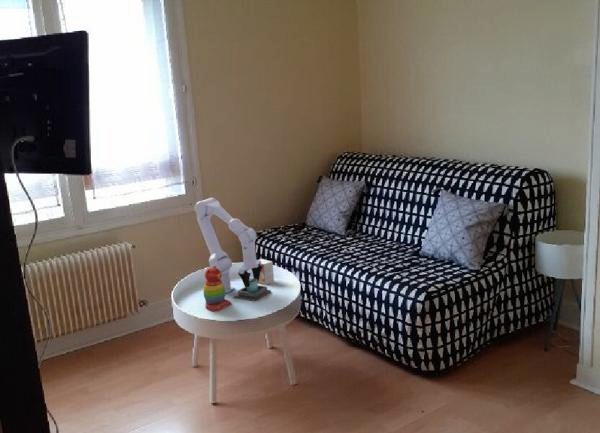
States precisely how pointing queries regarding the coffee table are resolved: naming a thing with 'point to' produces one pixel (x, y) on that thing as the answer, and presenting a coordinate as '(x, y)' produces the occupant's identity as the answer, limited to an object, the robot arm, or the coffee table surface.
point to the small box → (266, 272)
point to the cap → (252, 285)
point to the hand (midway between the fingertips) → (251, 284)
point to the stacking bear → (214, 290)
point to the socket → (252, 296)
